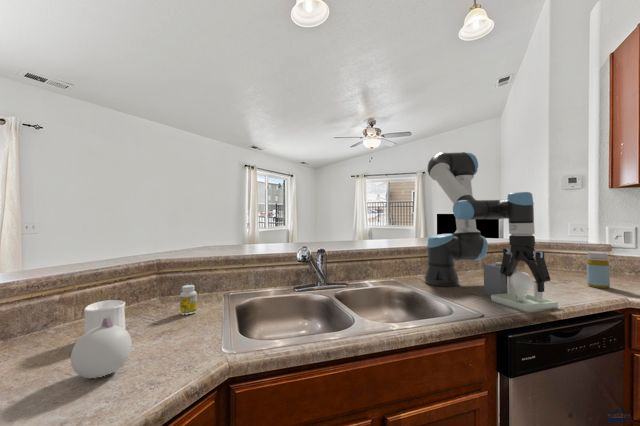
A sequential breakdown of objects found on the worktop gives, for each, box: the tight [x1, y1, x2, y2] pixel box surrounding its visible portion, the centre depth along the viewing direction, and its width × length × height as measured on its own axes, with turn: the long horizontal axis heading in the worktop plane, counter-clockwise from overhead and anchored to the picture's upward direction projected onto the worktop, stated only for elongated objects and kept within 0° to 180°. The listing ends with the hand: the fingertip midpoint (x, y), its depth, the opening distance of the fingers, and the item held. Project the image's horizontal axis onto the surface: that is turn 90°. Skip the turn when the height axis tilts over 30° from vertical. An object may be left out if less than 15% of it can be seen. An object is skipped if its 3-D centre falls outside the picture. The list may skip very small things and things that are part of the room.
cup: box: [83, 299, 126, 335], centre depth 79 cm, size 10×10×10 cm
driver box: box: [482, 261, 518, 296], centre depth 115 cm, size 8×8×13 cm
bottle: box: [586, 251, 611, 289], centre depth 124 cm, size 7×7×15 cm
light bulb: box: [510, 271, 533, 302], centre depth 103 cm, size 7×7×11 cm
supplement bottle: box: [179, 284, 198, 313], centre depth 100 cm, size 5×5×10 cm
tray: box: [490, 293, 559, 314], centre depth 102 cm, size 14×14×2 cm
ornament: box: [70, 317, 133, 379], centre depth 61 cm, size 10×10×12 cm
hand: (524, 297), depth 102 cm, fingers open, 9 cm apart
